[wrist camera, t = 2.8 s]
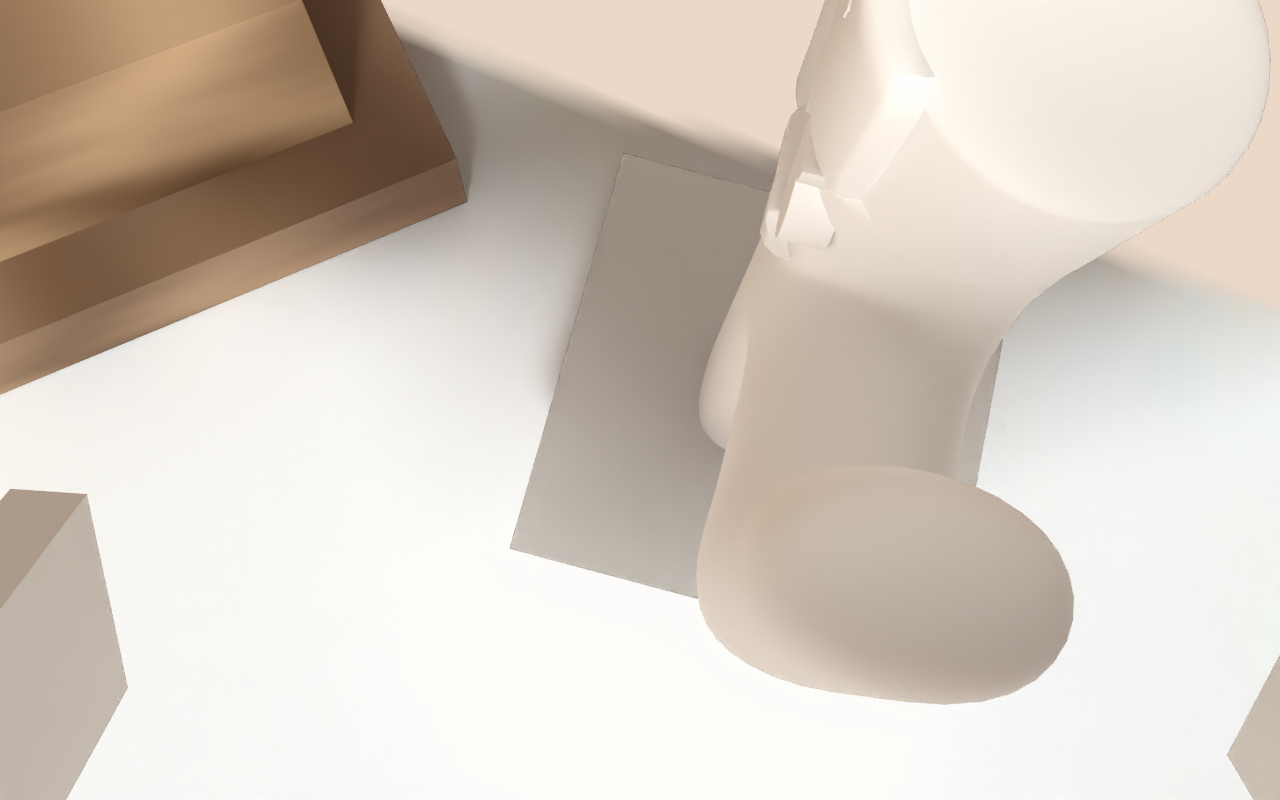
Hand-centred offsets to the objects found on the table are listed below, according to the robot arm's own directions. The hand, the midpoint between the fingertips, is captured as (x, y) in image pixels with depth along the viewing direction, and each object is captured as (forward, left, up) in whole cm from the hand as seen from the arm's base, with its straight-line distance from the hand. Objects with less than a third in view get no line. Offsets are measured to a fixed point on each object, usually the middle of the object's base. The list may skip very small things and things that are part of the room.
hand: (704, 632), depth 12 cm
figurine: (-3, -3, -9) cm, 10 cm away
